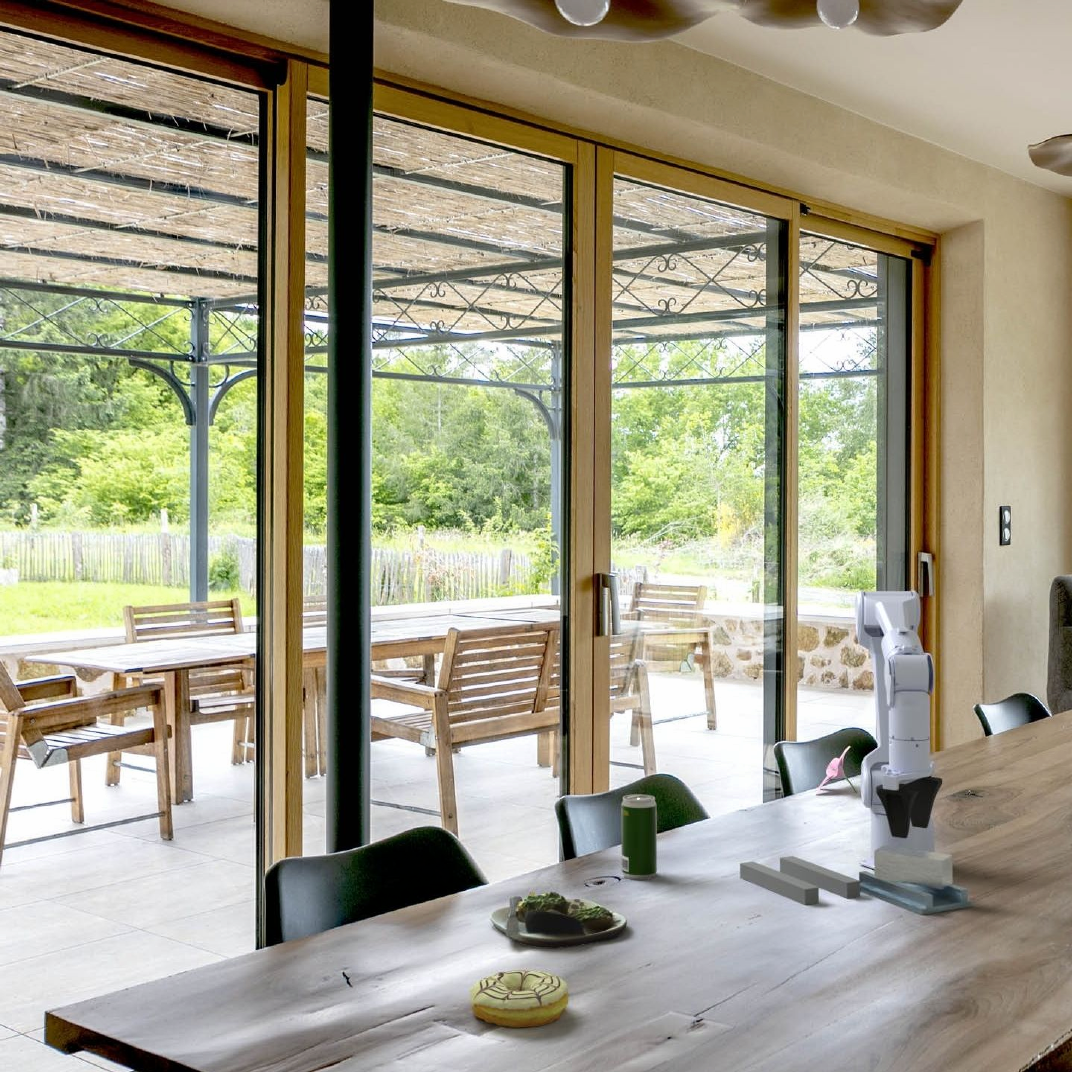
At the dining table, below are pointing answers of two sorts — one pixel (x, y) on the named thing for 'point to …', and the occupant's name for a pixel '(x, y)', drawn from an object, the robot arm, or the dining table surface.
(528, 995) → the decorated donut
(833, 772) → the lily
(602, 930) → the salad plate
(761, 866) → the grey bars
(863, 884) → the cradle
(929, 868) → the rectangular block
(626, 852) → the beer can
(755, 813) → the dining table surface
